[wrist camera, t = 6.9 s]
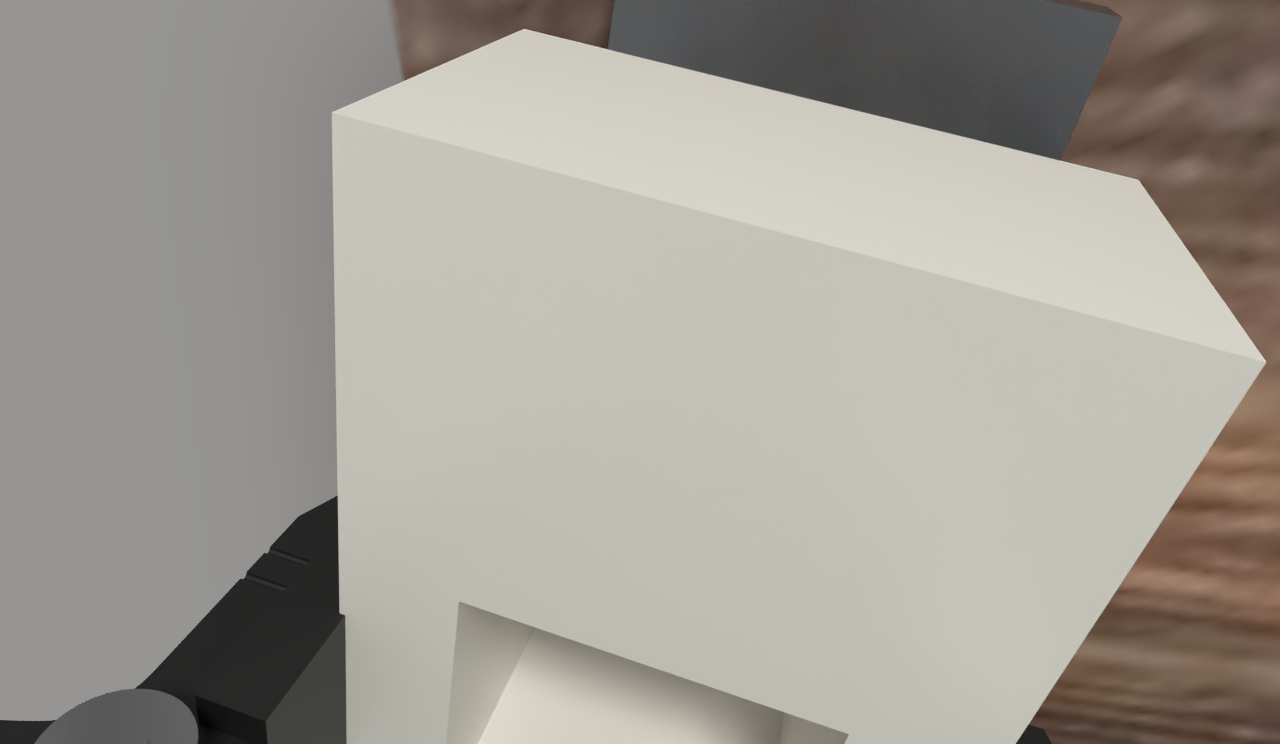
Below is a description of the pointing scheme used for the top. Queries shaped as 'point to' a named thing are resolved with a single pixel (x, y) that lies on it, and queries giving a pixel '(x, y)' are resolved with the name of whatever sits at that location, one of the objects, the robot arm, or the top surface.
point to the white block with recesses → (738, 409)
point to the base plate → (895, 57)
